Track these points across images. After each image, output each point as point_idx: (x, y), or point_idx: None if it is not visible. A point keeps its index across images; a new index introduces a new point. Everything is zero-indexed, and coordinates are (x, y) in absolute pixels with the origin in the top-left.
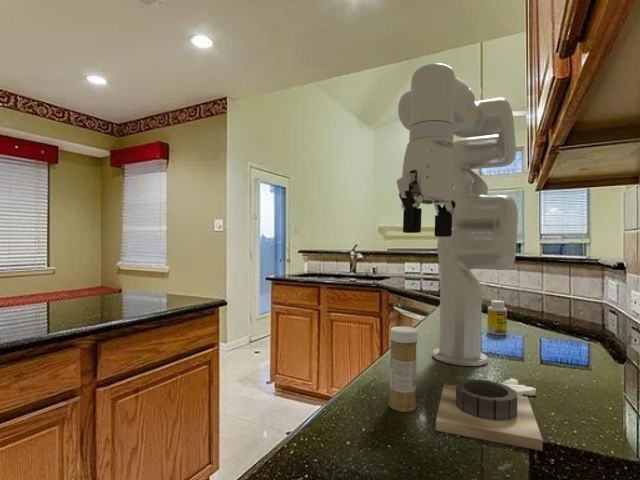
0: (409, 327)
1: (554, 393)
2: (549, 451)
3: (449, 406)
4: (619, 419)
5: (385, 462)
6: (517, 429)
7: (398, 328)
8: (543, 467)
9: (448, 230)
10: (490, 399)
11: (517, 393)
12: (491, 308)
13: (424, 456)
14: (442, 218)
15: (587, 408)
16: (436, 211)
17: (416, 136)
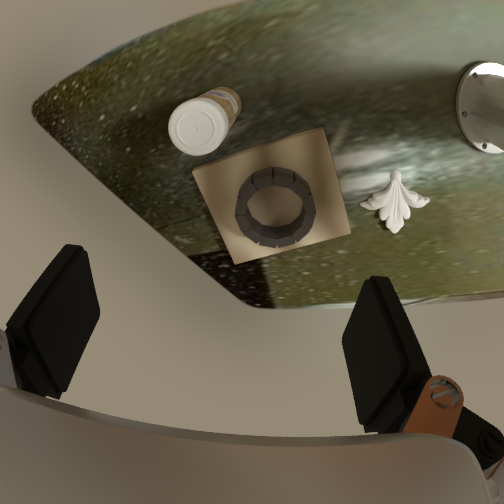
0: (214, 131)
1: (410, 244)
2: None
3: (243, 167)
4: None
5: (104, 164)
6: (240, 243)
7: (189, 118)
8: (206, 262)
9: (347, 356)
10: (241, 228)
11: (379, 212)
12: None
13: (139, 183)
14: (374, 388)
15: None
16: (419, 400)
17: None
